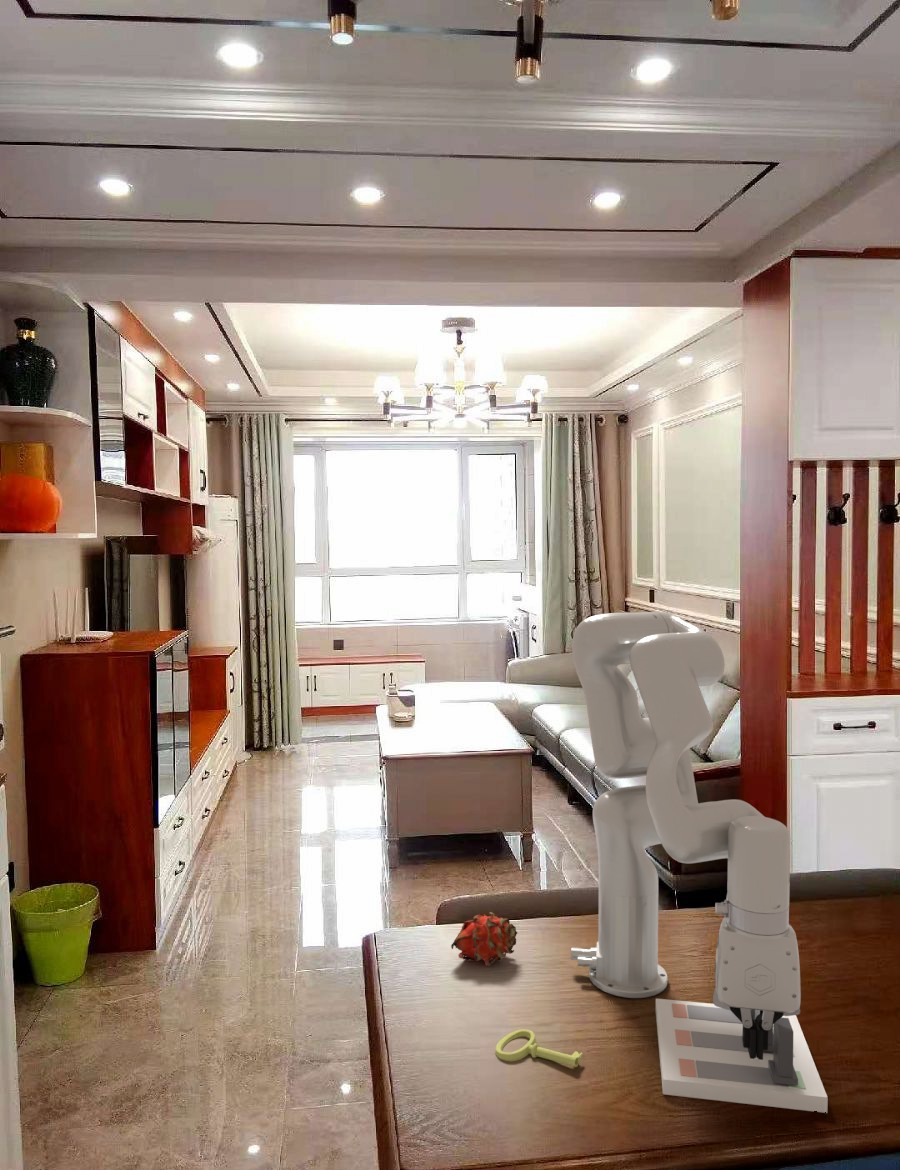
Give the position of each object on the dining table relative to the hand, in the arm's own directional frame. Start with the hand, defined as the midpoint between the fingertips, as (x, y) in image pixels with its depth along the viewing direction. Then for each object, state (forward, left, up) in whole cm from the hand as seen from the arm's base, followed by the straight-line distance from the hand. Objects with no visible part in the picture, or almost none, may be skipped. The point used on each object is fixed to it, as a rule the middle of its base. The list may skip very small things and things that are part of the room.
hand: (754, 1052), depth 111 cm
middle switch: (+2, +7, -3) cm, 8 cm away
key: (-29, +3, -6) cm, 29 cm away
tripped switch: (+4, 0, -3) cm, 4 cm away
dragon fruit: (-40, +28, -5) cm, 49 cm away
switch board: (-2, +7, -5) cm, 9 cm away
